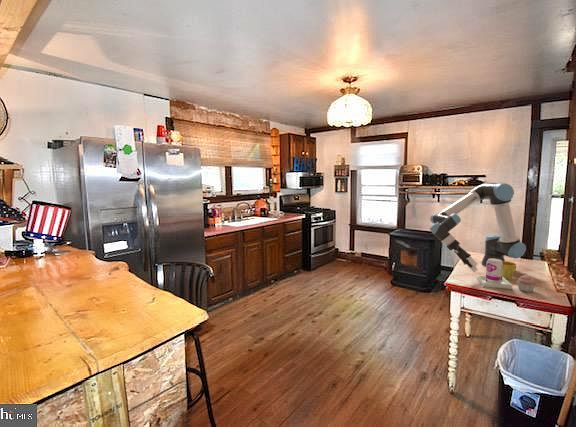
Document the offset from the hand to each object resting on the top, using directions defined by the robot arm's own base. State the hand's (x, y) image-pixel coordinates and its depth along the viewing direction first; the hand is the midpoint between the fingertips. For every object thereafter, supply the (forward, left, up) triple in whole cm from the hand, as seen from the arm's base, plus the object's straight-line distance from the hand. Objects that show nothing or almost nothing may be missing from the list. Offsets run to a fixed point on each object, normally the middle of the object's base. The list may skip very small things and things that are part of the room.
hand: (476, 268), depth 187 cm
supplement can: (+2, +9, -9) cm, 13 cm away
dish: (+2, +9, -9) cm, 13 cm away
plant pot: (-15, +21, -9) cm, 27 cm away
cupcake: (+8, +24, -9) cm, 27 cm away
